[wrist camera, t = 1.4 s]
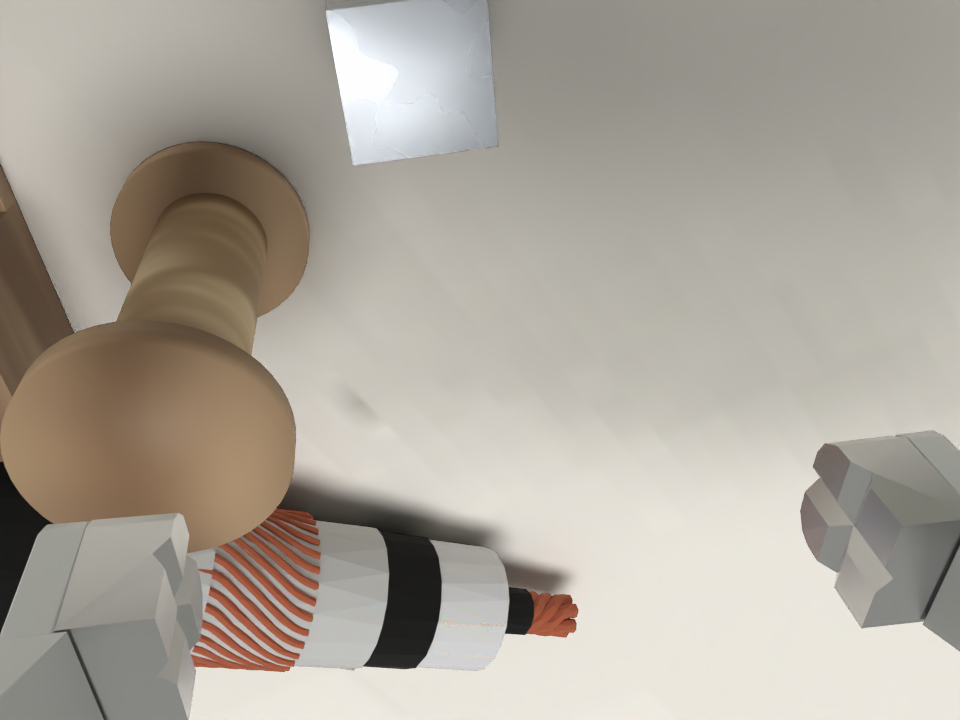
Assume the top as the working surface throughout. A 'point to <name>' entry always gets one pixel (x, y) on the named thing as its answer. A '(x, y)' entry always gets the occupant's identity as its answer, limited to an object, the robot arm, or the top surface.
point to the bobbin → (172, 359)
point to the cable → (333, 595)
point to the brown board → (23, 300)
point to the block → (413, 76)
